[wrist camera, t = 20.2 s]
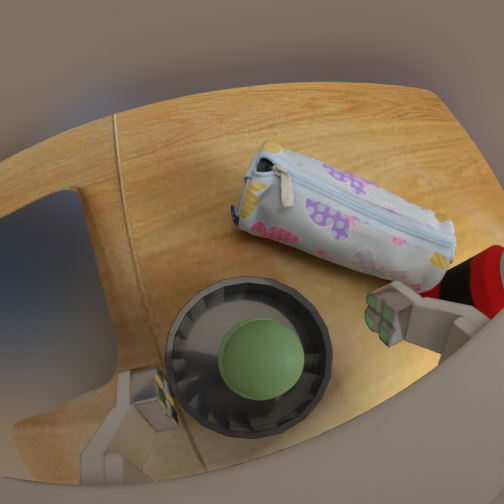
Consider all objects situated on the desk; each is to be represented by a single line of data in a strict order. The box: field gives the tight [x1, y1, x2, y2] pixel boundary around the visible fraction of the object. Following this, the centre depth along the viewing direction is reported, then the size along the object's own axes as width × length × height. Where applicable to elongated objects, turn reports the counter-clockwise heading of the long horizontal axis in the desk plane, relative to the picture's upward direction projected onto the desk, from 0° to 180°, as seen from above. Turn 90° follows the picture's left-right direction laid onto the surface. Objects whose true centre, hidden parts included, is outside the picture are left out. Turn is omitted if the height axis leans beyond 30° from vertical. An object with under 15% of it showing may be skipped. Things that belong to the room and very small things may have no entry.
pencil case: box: [231, 140, 456, 293], centre depth 25 cm, size 21×9×10 cm, turn 70°
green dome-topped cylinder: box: [218, 318, 304, 400], centre depth 18 cm, size 5×5×12 cm
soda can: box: [421, 245, 504, 320], centre depth 22 cm, size 8×8×12 cm
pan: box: [165, 276, 333, 439], centre depth 23 cm, size 13×13×4 cm
